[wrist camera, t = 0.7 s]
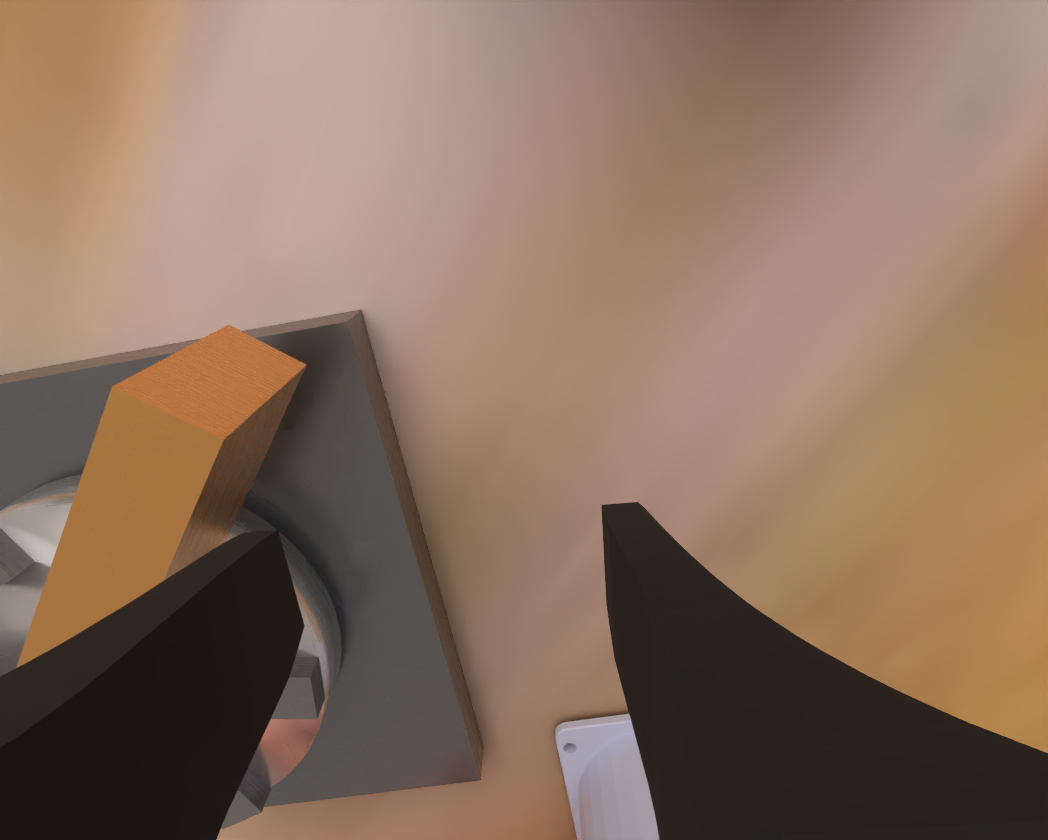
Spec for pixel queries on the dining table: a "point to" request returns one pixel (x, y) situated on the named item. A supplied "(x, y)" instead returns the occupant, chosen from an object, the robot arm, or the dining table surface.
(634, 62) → the dining table surface
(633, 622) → the robot arm
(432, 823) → the dining table surface
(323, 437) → the base plate
